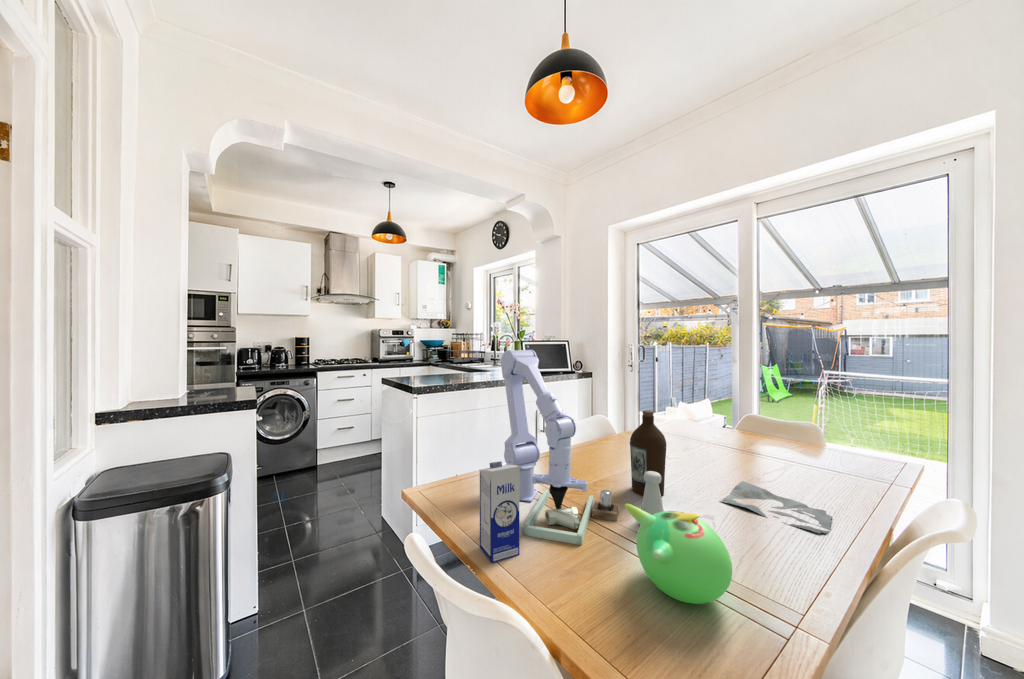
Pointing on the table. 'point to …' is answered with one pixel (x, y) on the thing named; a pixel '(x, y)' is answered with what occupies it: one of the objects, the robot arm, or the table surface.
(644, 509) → the salt shaker
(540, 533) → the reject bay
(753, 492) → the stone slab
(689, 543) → the toy bird
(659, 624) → the table surface
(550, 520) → the pipe fitting
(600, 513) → the tan square frame
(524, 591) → the table surface
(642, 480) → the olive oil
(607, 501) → the pin
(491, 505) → the milk carton
